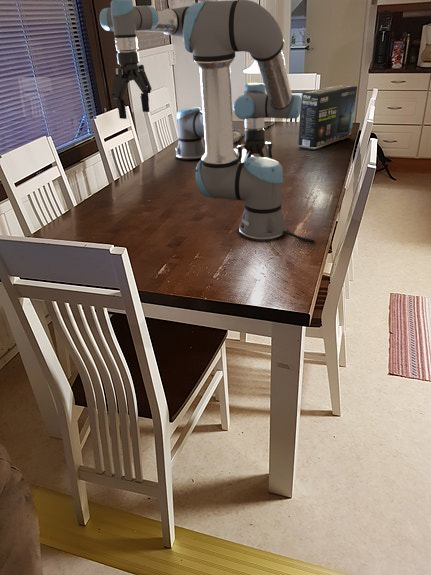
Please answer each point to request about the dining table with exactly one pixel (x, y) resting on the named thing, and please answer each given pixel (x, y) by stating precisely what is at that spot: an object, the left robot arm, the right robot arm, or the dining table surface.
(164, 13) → the left robot arm
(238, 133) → the fossil
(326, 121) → the router box
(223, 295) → the dining table surface
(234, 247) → the dining table surface
